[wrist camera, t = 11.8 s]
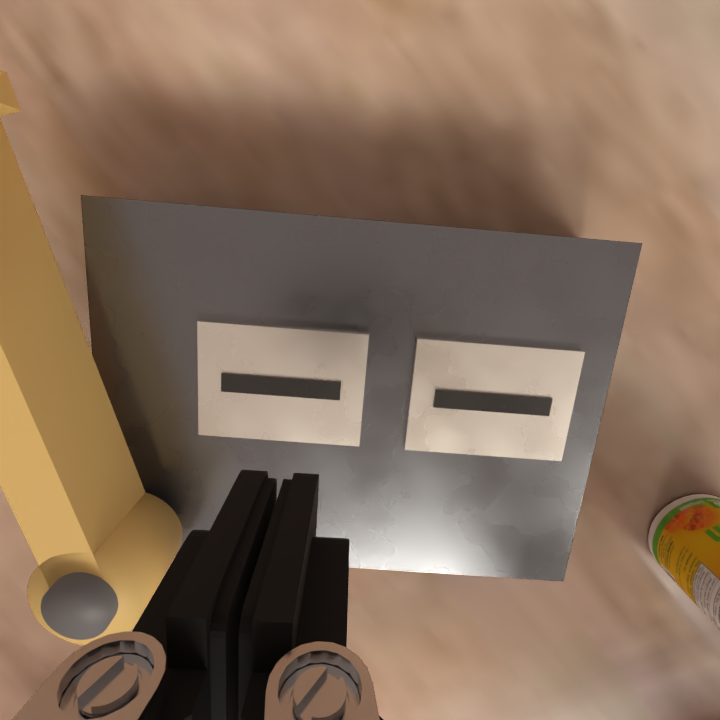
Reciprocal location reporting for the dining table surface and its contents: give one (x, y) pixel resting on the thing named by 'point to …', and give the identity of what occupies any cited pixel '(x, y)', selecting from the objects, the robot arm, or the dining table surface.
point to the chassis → (362, 373)
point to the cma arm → (67, 442)
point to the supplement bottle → (691, 548)
